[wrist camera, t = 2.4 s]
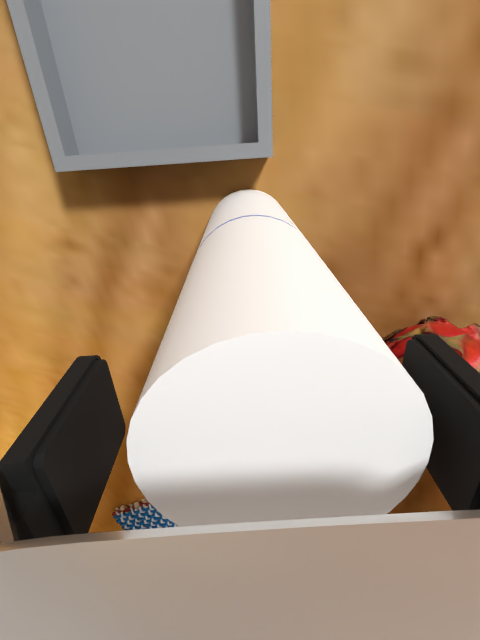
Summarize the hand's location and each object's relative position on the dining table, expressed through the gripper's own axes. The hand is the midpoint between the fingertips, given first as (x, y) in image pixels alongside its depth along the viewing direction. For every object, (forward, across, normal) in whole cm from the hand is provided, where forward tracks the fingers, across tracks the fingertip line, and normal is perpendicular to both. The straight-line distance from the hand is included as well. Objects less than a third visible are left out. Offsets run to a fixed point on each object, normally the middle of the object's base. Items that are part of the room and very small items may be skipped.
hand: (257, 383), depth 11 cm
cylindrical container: (+22, -1, 0) cm, 22 cm away
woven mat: (+23, +14, +41) cm, 49 cm away
